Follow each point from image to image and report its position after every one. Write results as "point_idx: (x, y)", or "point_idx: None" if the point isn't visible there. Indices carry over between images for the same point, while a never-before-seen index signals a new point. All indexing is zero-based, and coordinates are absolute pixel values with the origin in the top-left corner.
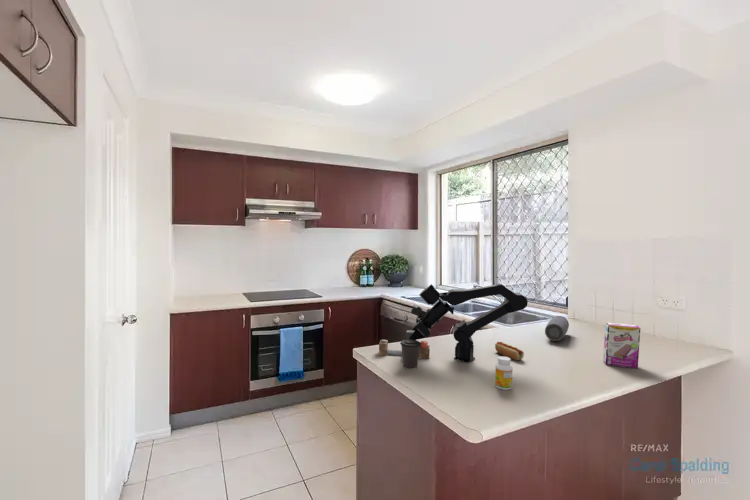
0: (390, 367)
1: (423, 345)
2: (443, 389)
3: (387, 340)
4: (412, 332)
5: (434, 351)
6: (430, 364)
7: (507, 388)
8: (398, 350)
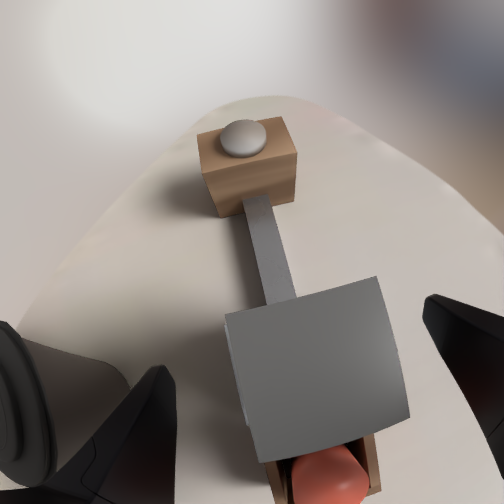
0: (65, 302)
1: (293, 486)
2: (9, 485)
3: (293, 151)
4: (254, 428)
5: (434, 457)
6: (179, 498)
7: None
8: (283, 269)
